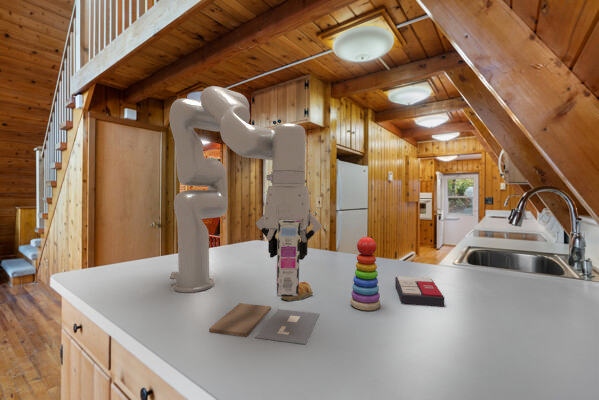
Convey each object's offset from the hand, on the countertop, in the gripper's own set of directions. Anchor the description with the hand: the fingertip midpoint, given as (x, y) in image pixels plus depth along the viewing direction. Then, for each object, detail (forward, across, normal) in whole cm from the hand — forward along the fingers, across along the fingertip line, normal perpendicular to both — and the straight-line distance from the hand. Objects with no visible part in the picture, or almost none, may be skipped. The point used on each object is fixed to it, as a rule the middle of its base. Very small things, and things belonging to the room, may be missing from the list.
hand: (287, 256), depth 67 cm
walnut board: (+16, -11, 0) cm, 20 cm away
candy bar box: (+8, 0, 0) cm, 8 cm away
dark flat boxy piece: (+16, +32, +27) cm, 45 cm away
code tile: (+16, +1, 0) cm, 16 cm away
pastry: (+17, -2, +18) cm, 25 cm away
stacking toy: (+16, +17, +16) cm, 28 cm away
